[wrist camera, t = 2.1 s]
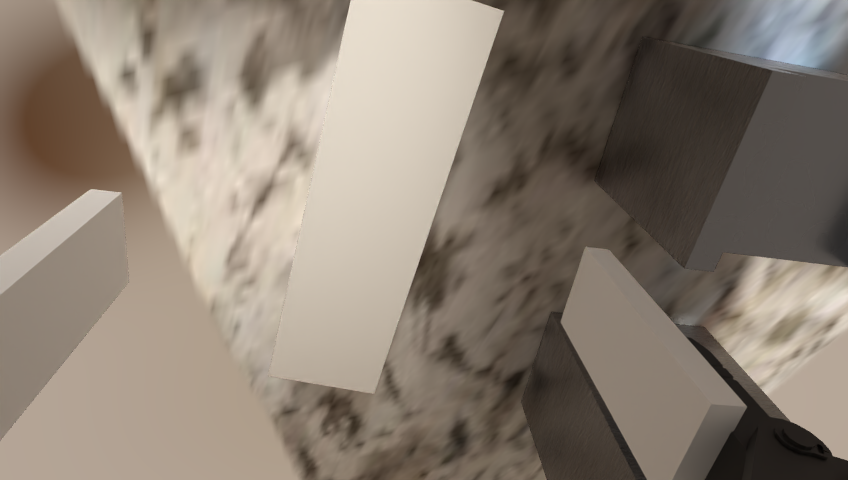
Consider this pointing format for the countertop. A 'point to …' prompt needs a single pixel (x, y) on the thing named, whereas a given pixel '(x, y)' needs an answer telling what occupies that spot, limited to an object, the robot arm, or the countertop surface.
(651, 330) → the robot arm
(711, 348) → the cup bracket
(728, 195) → the grey channel block
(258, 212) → the countertop surface
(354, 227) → the cream rectangular block
